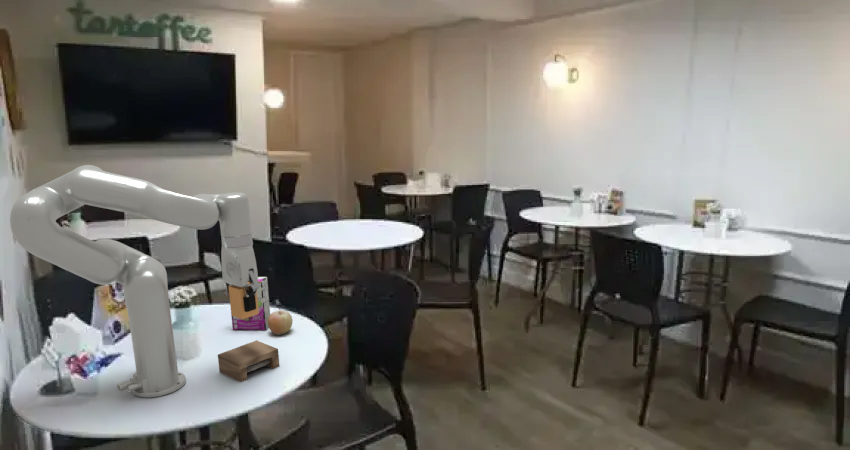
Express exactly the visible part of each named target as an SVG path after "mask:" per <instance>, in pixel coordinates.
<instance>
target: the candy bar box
mask: <svg viewBox="0 0 850 450" xmlns="http://www.w3.org/2000/svg"><path fill="white" fill-rule="evenodd" d="M248 283H250V282H248ZM258 283H259V285H260V287H259V288H258V289H257V300H258V309H259V314H257V315H254V316H251V317H248V318H245V319H240V318H237V317H235V316H232V314H231V313H230V314H231V315H230V317H231V324H232V325H231V326H232V330H233V331H267V330H268V329H270V328H269V326H268V317H269V315H270V314H271V308H270V297H269V295H270V293H269V282H268V277H267V276H258ZM229 305H230V304H229ZM230 307H231V305H230Z"/></svg>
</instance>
